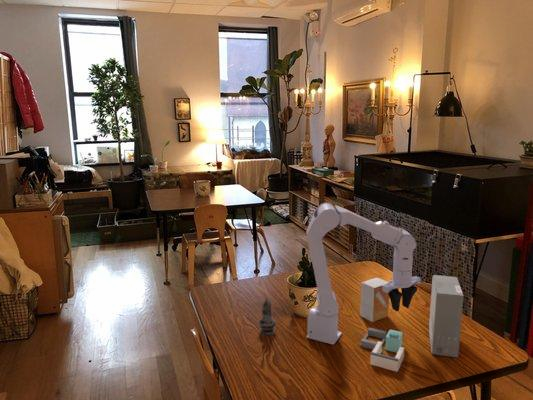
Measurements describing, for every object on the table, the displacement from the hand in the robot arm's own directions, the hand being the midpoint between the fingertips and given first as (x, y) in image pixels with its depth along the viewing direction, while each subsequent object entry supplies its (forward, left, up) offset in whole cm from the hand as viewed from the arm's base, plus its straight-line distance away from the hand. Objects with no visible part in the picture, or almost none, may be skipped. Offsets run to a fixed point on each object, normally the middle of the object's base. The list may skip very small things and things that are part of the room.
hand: (400, 308), depth 137 cm
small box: (-11, +10, -10) cm, 18 cm away
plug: (0, -7, -10) cm, 12 cm away
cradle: (-6, -7, -10) cm, 14 cm away
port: (0, -15, -10) cm, 18 cm away
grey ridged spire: (-40, -17, -10) cm, 45 cm away
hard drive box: (+13, +2, -10) cm, 17 cm away
